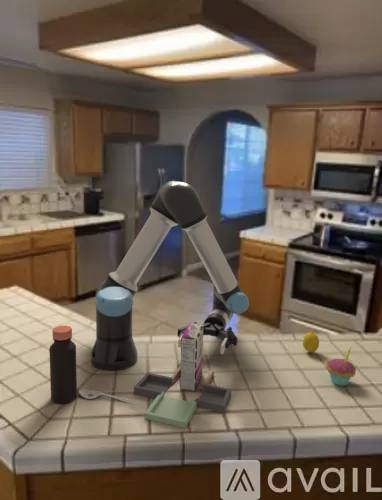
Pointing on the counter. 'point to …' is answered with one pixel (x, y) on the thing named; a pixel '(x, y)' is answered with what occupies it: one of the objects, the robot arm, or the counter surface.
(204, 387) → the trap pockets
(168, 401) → the green square tray
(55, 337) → the bottle
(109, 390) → the counter surface
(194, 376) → the candy bar box
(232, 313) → the robot arm
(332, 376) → the cupcake
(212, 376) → the lane rails
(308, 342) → the lemon
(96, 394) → the spoon
